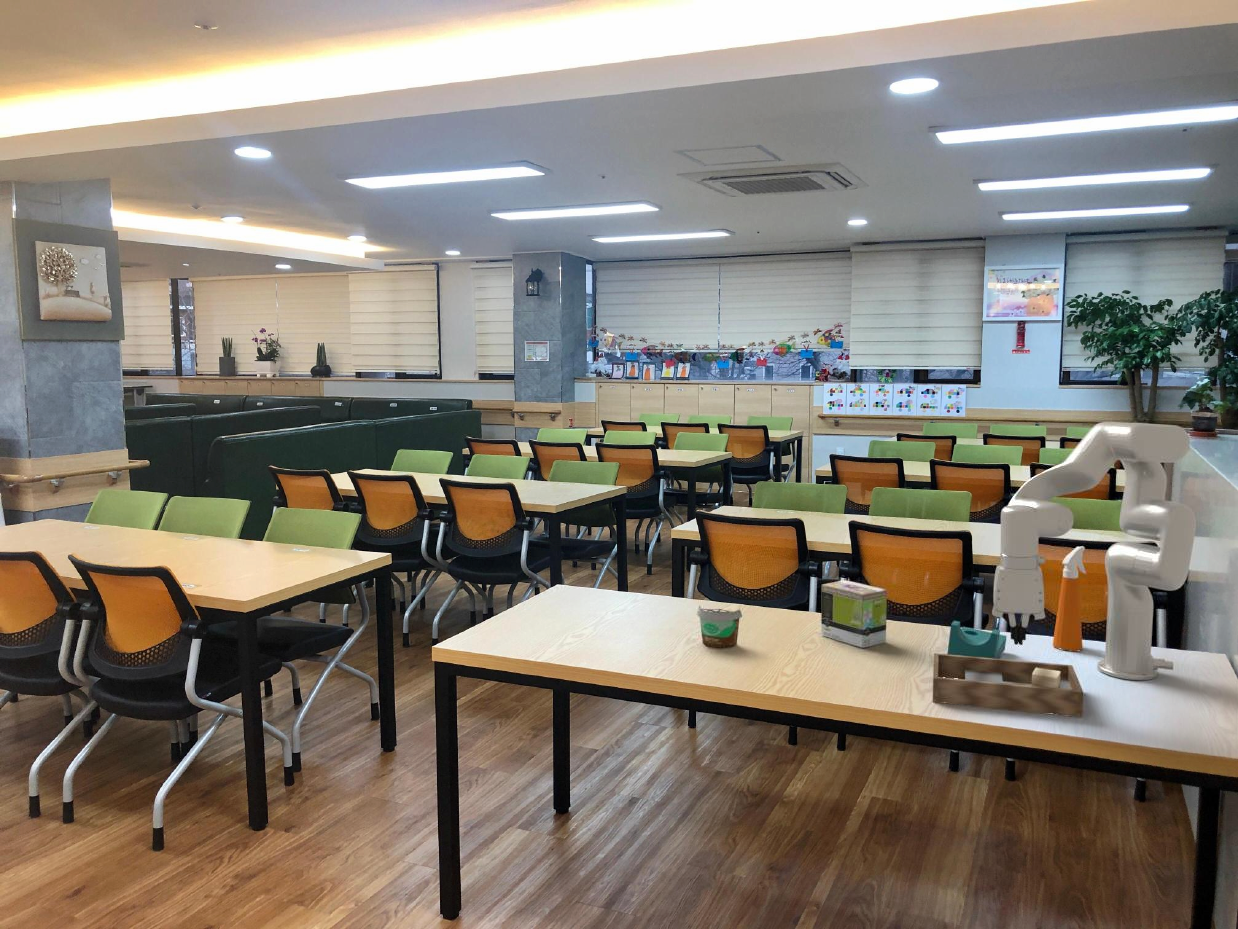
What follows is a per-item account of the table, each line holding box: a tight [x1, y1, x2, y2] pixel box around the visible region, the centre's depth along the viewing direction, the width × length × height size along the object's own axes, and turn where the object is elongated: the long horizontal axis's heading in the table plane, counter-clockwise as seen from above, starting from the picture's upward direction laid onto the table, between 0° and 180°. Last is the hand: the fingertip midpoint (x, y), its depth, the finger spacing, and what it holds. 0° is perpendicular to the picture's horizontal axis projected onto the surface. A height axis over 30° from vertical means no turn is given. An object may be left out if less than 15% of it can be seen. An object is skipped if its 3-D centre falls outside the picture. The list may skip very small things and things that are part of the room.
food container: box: [696, 605, 743, 650], centre depth 245 cm, size 12×6×10 cm, turn 68°
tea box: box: [820, 579, 888, 649], centre depth 249 cm, size 15×10×15 cm, turn 34°
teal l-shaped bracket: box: [946, 620, 1007, 659], centre depth 231 cm, size 18×11×10 cm, turn 149°
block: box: [1032, 668, 1061, 689], centre depth 200 cm, size 5×5×5 cm
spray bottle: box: [1052, 545, 1087, 652], centre depth 239 cm, size 7×11×26 cm, turn 125°
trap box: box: [932, 652, 1084, 718], centre depth 207 cm, size 30×18×6 cm, turn 71°
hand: (1018, 642), depth 202 cm, fingers closed
